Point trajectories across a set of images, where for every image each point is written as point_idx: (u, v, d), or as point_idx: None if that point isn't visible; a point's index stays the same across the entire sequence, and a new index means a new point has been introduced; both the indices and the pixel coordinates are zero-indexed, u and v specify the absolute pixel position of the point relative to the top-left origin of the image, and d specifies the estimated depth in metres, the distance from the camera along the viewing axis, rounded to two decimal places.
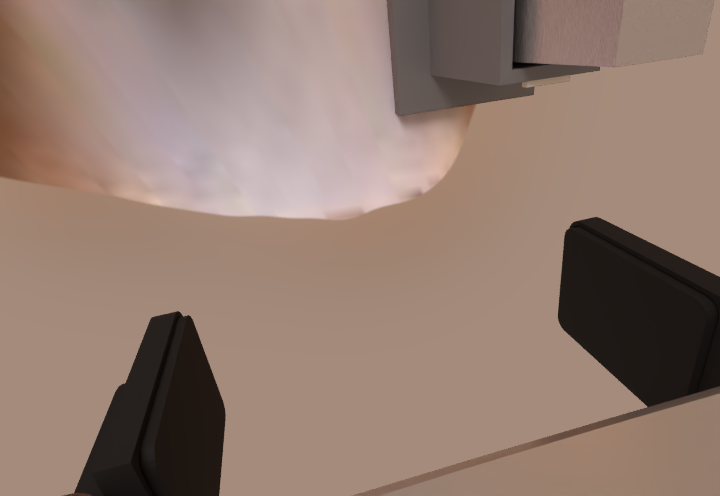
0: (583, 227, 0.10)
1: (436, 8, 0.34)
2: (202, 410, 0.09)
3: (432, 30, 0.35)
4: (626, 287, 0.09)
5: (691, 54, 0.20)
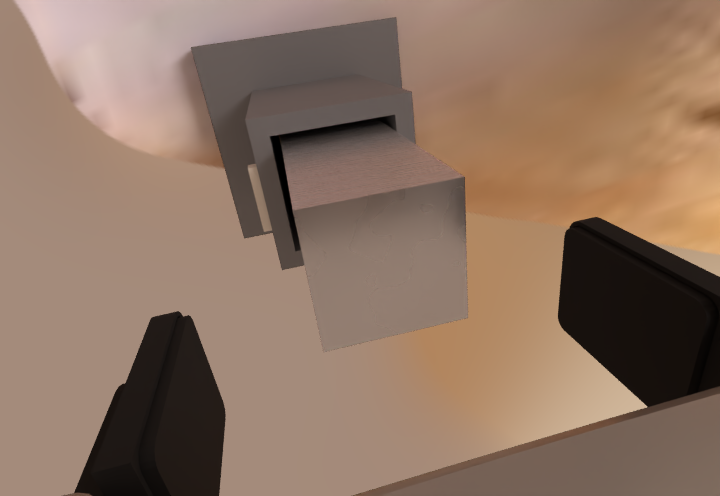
0: (583, 227, 0.10)
1: (331, 80, 0.27)
2: (202, 410, 0.09)
3: (306, 83, 0.28)
4: (626, 287, 0.09)
5: (321, 335, 0.13)
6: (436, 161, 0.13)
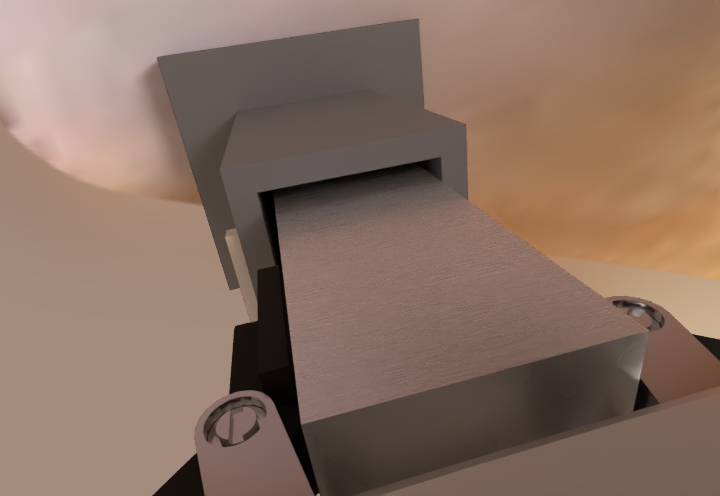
0: None
1: (338, 99, 0.21)
2: None
3: (305, 101, 0.22)
4: None
5: None
6: (557, 270, 0.07)
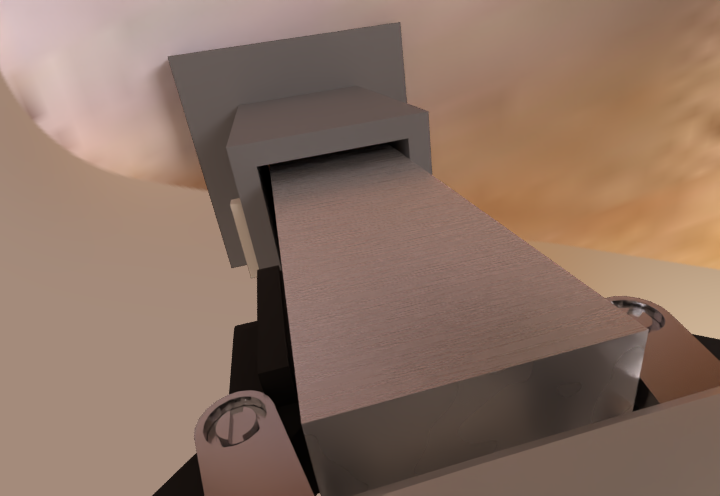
0: None
1: (328, 93, 0.24)
2: None
3: (299, 96, 0.25)
4: None
5: None
6: (556, 269, 0.07)
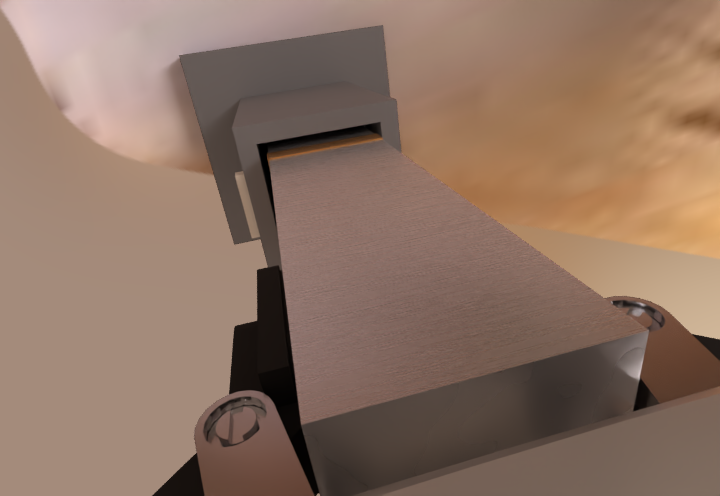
0: None
1: (319, 88, 0.27)
2: None
3: (294, 90, 0.28)
4: None
5: None
6: (556, 270, 0.07)
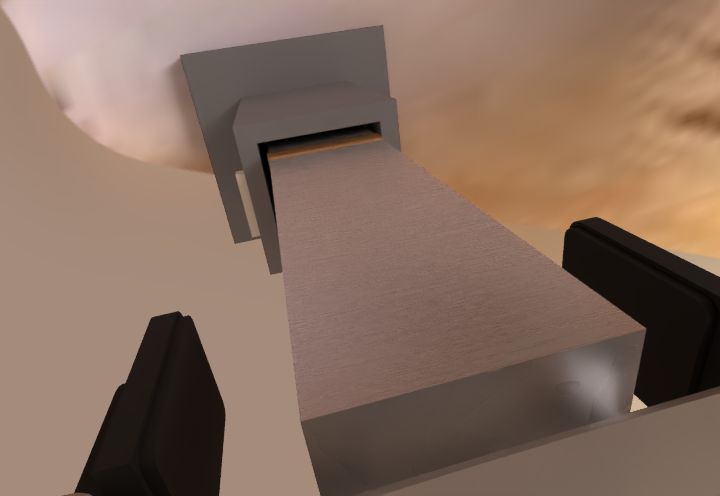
0: (583, 227, 0.10)
1: (319, 87, 0.27)
2: (202, 410, 0.09)
3: (294, 90, 0.28)
4: (626, 287, 0.09)
5: None
6: (554, 268, 0.07)
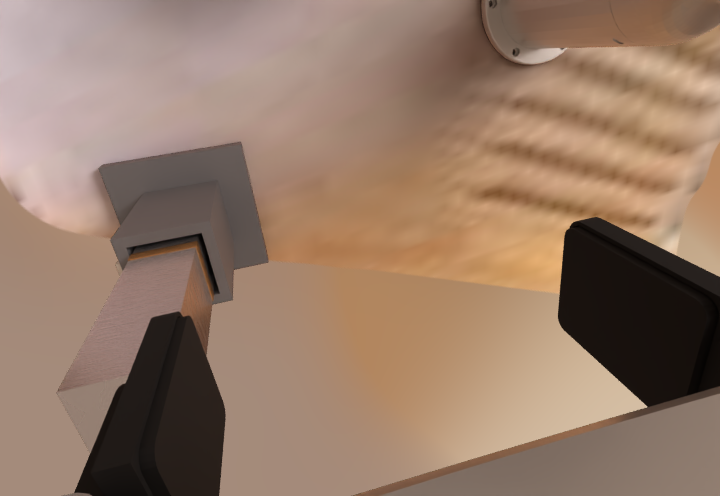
0: (583, 227, 0.10)
1: (194, 188, 0.41)
2: (202, 410, 0.09)
3: (179, 188, 0.42)
4: (626, 287, 0.09)
5: None
6: None
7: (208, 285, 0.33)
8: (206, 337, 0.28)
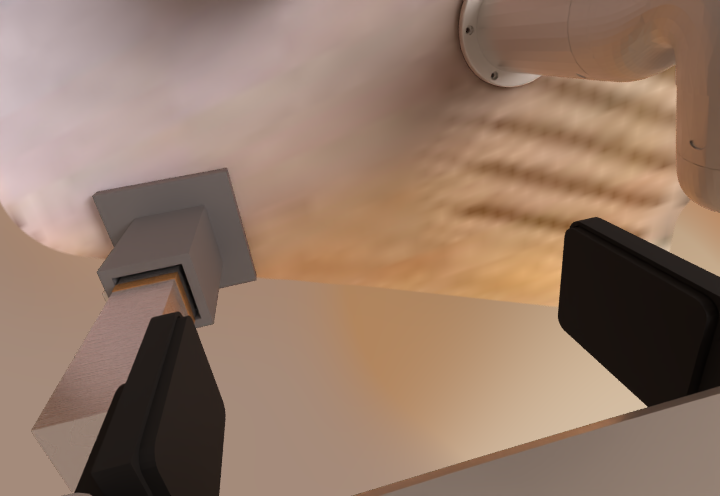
0: (583, 227, 0.10)
1: (182, 214, 0.43)
2: (202, 410, 0.09)
3: (168, 213, 0.44)
4: (626, 287, 0.09)
5: (67, 484, 0.23)
6: None
7: (188, 312, 0.35)
8: None
